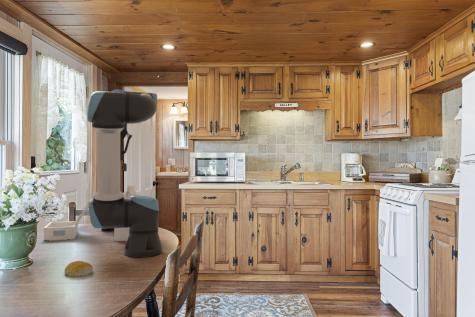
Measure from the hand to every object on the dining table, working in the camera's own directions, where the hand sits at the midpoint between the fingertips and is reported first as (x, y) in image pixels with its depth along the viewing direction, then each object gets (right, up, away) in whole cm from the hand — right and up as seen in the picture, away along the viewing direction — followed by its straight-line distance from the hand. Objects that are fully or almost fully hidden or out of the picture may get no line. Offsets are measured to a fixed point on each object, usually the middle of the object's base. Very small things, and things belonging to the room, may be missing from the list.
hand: (118, 167), depth 182 cm
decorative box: (-10, -35, +16) cm, 40 cm away
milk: (+8, -35, -8) cm, 37 cm away
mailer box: (-26, -34, -6) cm, 43 cm away
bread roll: (+7, -34, -62) cm, 71 cm away
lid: (-17, -22, -3) cm, 28 cm away
